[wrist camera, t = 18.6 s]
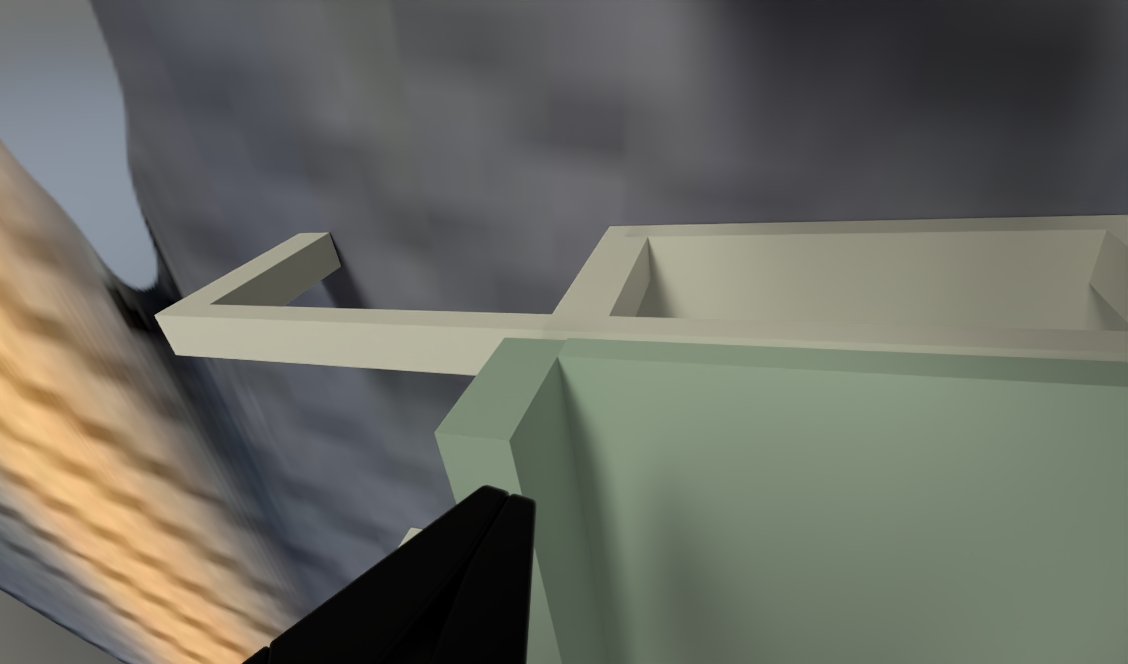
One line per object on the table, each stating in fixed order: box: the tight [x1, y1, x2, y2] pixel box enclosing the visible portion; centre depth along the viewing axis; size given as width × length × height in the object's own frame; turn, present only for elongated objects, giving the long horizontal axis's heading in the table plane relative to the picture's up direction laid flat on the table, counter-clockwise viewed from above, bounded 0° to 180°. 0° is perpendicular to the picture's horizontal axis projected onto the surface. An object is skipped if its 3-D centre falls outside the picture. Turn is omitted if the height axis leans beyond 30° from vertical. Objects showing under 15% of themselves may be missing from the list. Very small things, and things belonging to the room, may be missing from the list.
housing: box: [155, 215, 1128, 548], centre depth 22 cm, size 19×28×7 cm
